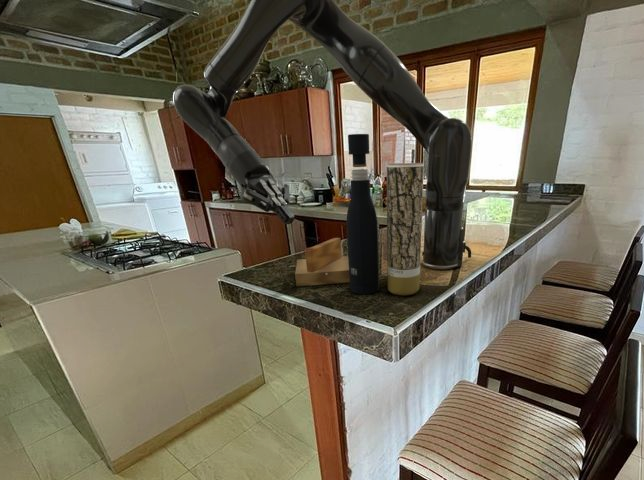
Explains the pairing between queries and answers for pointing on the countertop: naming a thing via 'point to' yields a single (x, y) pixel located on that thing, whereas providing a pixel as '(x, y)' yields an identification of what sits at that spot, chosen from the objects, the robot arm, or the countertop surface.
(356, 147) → the black water bottle
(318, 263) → the tan wooden flat block
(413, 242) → the paper tube
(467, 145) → the robot arm
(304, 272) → the wooden box
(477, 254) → the countertop surface
